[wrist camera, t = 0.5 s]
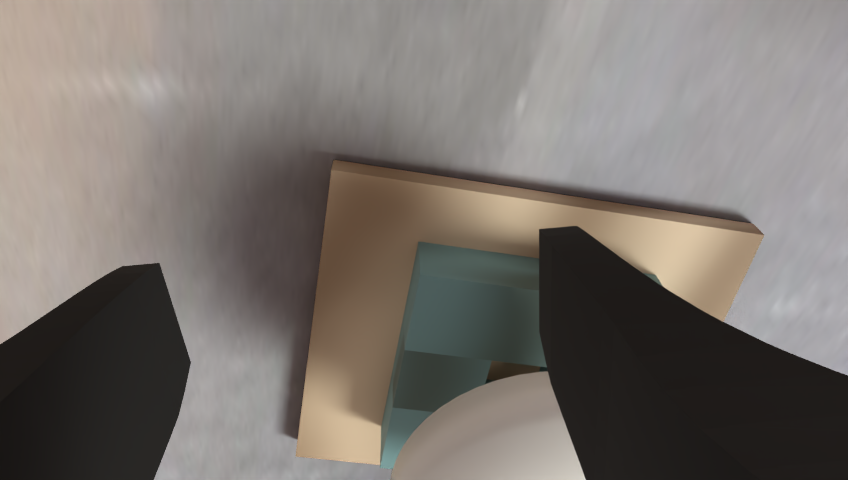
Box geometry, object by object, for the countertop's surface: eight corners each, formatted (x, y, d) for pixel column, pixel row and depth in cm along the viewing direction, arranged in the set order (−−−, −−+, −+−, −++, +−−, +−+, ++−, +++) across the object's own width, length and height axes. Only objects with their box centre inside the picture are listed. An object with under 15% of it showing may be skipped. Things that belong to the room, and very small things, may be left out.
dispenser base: (753, 223, 23) (796, 267, 20) (636, 476, 28) (658, 534, 26) (333, 159, 21) (325, 198, 19) (298, 440, 27) (288, 498, 24)
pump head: (703, 332, 20) (776, 443, 16) (613, 527, 24) (654, 653, 20) (415, 294, 19) (420, 404, 15) (372, 504, 23) (367, 632, 19)
